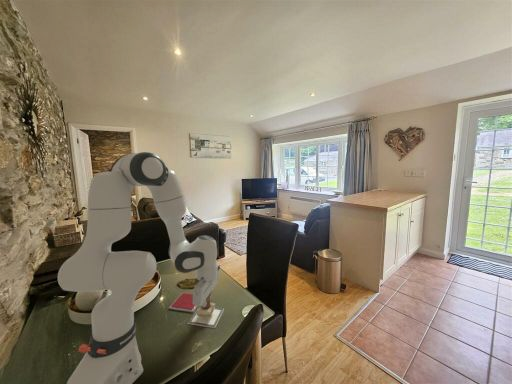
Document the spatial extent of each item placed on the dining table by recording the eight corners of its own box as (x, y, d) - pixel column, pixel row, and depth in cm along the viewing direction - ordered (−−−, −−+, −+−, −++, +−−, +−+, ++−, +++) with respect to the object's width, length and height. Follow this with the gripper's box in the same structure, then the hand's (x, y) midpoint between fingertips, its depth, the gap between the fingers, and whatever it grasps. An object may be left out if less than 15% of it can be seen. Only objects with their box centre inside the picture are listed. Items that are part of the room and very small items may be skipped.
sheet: (214, 328, 88) (214, 327, 88) (187, 323, 90) (187, 322, 90) (224, 309, 100) (224, 308, 100) (200, 306, 102) (200, 305, 102)
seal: (175, 291, 115) (203, 289, 117) (174, 284, 114) (203, 282, 116) (179, 280, 124) (205, 279, 126) (178, 273, 123) (205, 272, 125)
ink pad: (193, 312, 97) (193, 310, 97) (169, 309, 99) (169, 306, 99) (204, 297, 109) (204, 294, 109) (182, 294, 111) (182, 292, 111)
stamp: (209, 317, 91) (210, 298, 90) (196, 315, 92) (196, 296, 91) (214, 308, 97) (215, 290, 96) (202, 306, 98) (202, 288, 97)
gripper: (203, 286, 82) (203, 319, 83) (221, 263, 102) (221, 290, 103) (188, 284, 83) (188, 317, 84) (208, 261, 103) (208, 289, 104)
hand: (206, 302), depth 94 cm, fingers closed on stamp, 3 cm apart
